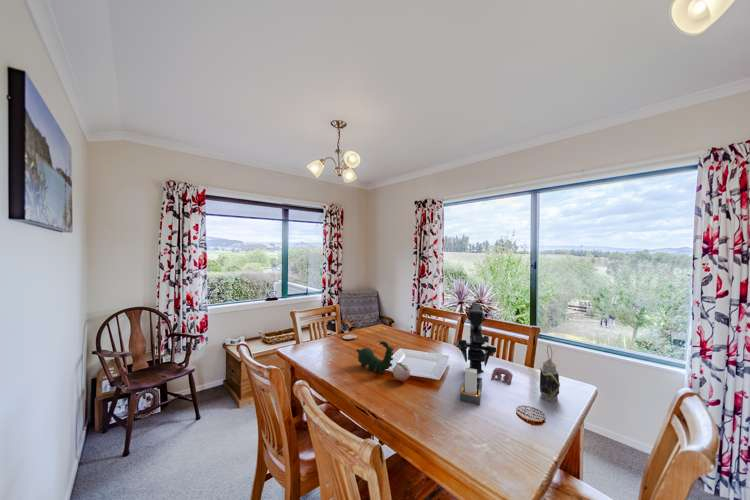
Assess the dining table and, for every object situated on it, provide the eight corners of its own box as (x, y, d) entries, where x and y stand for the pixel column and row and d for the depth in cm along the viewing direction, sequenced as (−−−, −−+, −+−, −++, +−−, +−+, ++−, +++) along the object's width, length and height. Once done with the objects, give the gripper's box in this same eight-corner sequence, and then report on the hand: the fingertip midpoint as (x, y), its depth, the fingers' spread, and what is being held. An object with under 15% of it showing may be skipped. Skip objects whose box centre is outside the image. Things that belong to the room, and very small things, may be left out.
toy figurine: (394, 374, 160) (359, 360, 174) (397, 342, 159) (362, 330, 173) (385, 380, 152) (350, 365, 167) (388, 346, 151) (352, 334, 165)
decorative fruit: (389, 381, 149) (389, 362, 148) (398, 375, 155) (398, 357, 154) (403, 387, 142) (403, 367, 142) (412, 381, 148) (412, 362, 148)
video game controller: (512, 385, 147) (514, 371, 150) (509, 384, 144) (511, 370, 147) (493, 379, 154) (495, 366, 156) (490, 378, 151) (492, 365, 153)
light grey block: (465, 393, 134) (465, 367, 134) (476, 395, 132) (476, 369, 132) (464, 397, 130) (464, 371, 130) (476, 400, 128) (476, 373, 128)
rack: (464, 381, 148) (464, 374, 148) (482, 384, 145) (482, 377, 145) (460, 401, 129) (460, 392, 129) (480, 405, 126) (480, 396, 126)
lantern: (537, 392, 138) (537, 341, 137) (556, 394, 135) (556, 343, 135) (542, 401, 129) (542, 347, 129) (562, 404, 127) (563, 349, 127)
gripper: (461, 324, 143) (460, 356, 134) (499, 332, 140) (500, 364, 132) (456, 331, 152) (455, 361, 143) (492, 338, 149) (493, 369, 141)
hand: (475, 364), depth 139 cm, fingers open, 9 cm apart
